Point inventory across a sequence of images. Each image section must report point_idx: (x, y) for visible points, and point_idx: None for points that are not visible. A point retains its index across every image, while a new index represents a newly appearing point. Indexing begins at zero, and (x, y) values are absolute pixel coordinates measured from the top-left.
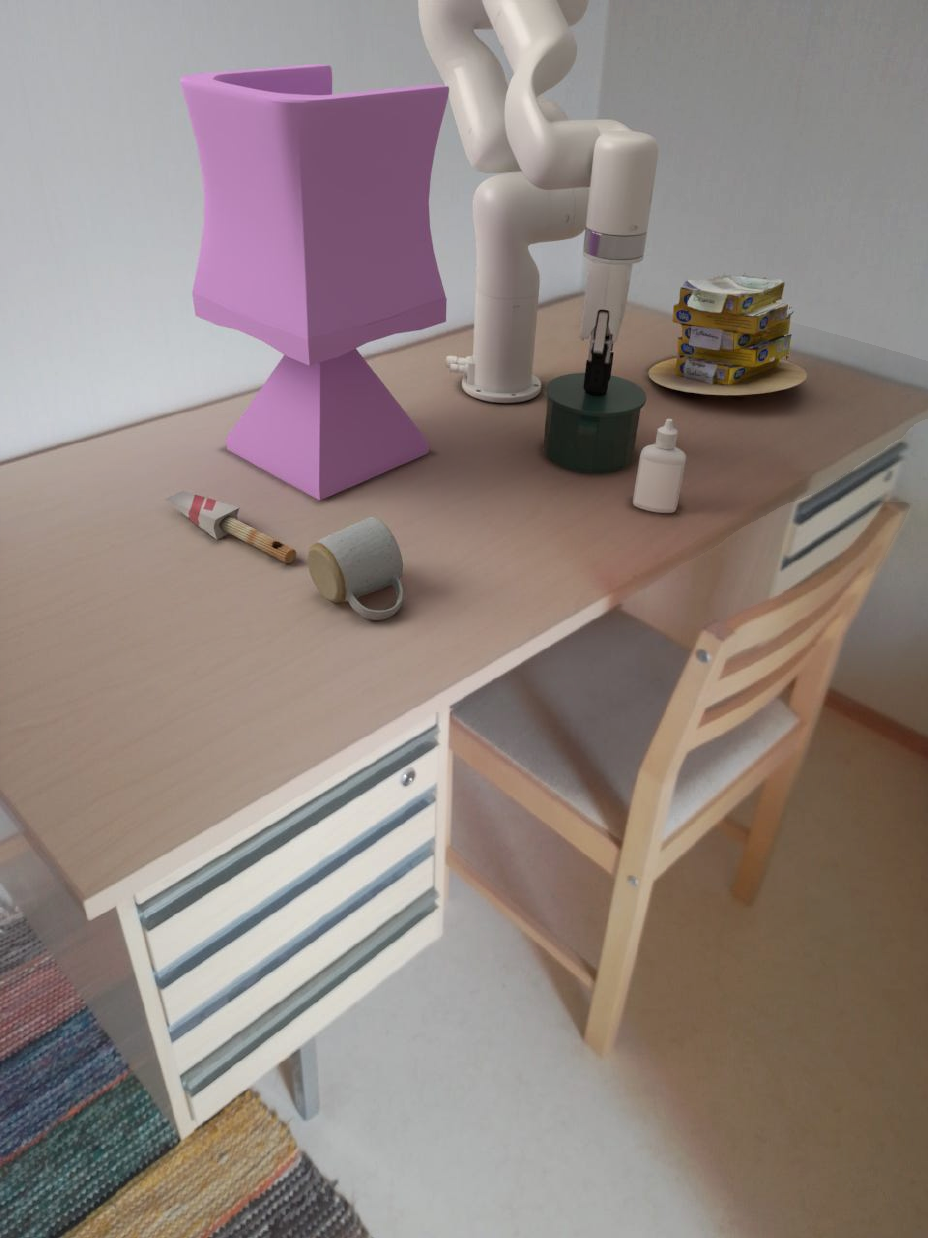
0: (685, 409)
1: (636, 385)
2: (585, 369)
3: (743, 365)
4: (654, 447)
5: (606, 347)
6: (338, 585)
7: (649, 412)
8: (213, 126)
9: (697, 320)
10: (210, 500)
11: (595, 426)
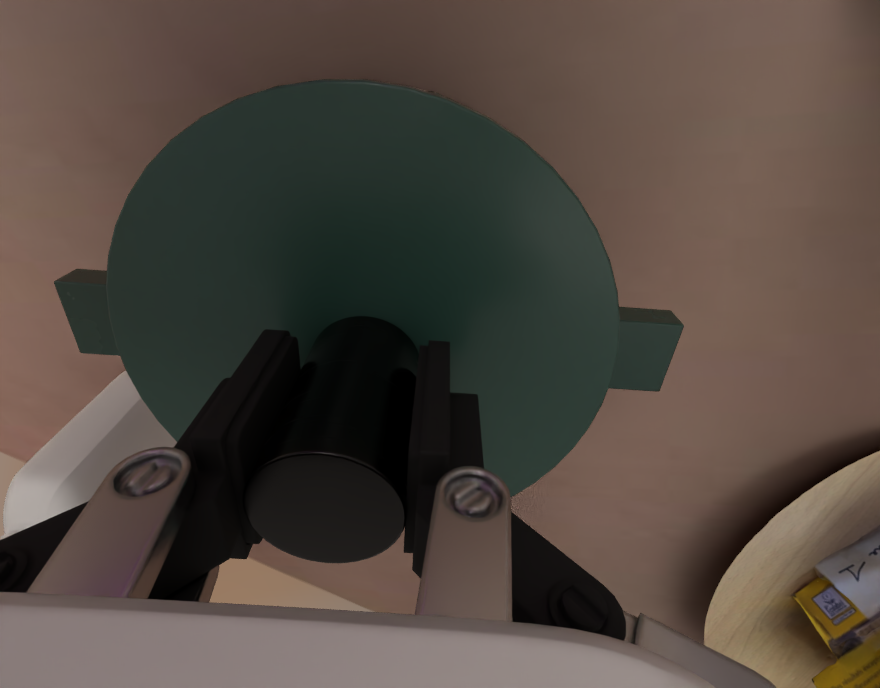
0: (724, 486)
1: None
2: (219, 394)
3: (836, 662)
4: (19, 521)
5: (418, 568)
6: None
7: (709, 411)
8: None
9: None
10: None
11: (103, 348)
